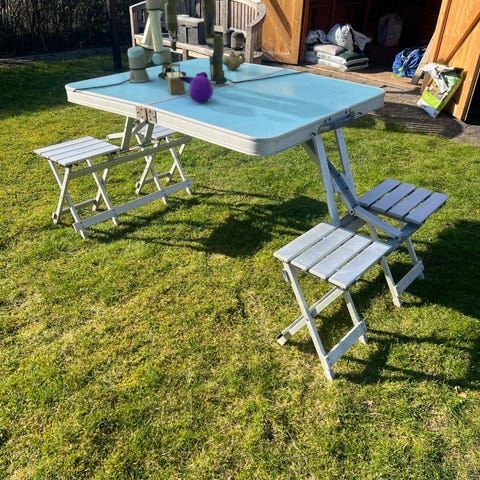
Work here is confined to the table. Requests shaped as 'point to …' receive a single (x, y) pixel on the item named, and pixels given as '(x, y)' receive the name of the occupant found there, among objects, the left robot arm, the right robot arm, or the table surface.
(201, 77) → the toy
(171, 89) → the chest
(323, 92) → the table surface
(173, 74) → the lid
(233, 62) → the teapot
